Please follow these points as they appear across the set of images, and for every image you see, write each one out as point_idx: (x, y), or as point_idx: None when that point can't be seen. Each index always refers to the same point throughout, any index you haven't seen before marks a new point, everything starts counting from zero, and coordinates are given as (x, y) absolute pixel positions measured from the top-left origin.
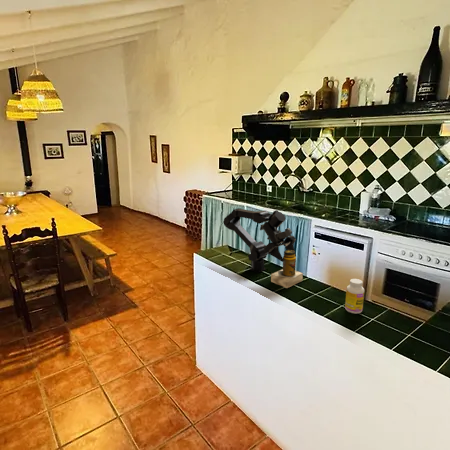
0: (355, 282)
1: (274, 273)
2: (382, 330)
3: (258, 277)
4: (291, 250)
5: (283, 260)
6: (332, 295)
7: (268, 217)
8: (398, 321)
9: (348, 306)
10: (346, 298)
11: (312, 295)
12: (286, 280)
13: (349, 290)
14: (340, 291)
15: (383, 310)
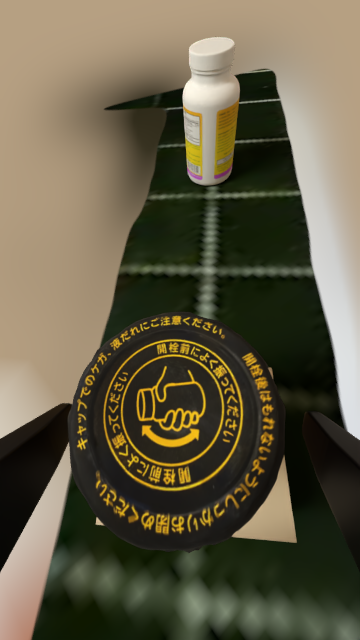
0: (225, 41)
1: (262, 526)
2: (240, 122)
3: None
4: (93, 418)
5: (316, 413)
6: (173, 235)
7: None
8: (184, 124)
9: (232, 156)
10: (230, 140)
11: (224, 271)
12: (272, 374)
13: (238, 90)
14: (129, 235)
15: (160, 148)
